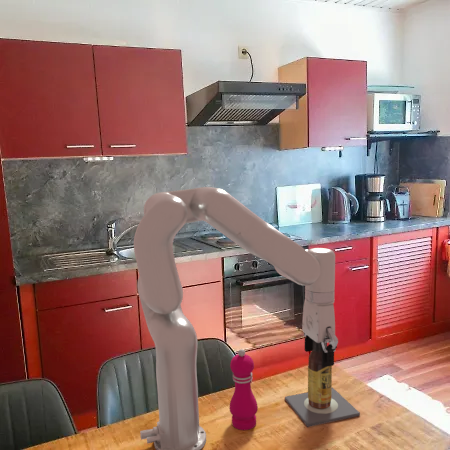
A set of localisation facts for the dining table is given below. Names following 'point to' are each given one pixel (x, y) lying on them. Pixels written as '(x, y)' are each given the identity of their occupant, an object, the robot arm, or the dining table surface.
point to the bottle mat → (320, 416)
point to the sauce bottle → (319, 379)
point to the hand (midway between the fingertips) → (318, 358)
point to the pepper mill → (243, 392)
